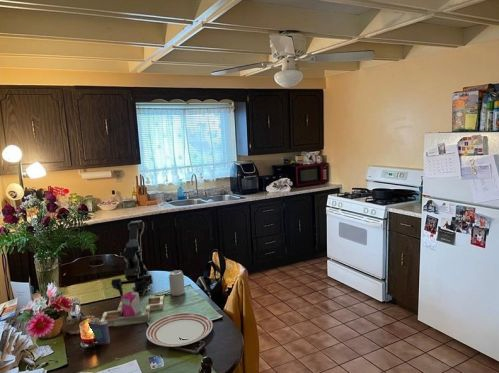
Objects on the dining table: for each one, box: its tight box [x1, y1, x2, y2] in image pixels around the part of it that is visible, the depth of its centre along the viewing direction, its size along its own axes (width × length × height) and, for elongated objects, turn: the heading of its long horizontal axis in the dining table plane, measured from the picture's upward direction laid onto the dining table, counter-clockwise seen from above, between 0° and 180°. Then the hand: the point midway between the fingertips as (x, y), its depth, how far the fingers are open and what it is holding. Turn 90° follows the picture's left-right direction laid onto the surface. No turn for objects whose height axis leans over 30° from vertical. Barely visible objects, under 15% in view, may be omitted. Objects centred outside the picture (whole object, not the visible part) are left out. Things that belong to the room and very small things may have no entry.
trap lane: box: [99, 295, 165, 327], centre depth 179 cm, size 22×27×3 cm
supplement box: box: [120, 291, 142, 317], centre depth 173 cm, size 6×6×12 cm
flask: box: [87, 317, 111, 345], centre depth 154 cm, size 9×3×11 cm, turn 74°
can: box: [168, 269, 186, 297], centre depth 197 cm, size 8×8×12 cm
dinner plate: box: [145, 312, 214, 348], centre depth 157 cm, size 27×27×3 cm
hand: (132, 298), depth 177 cm, fingers open, 9 cm apart
